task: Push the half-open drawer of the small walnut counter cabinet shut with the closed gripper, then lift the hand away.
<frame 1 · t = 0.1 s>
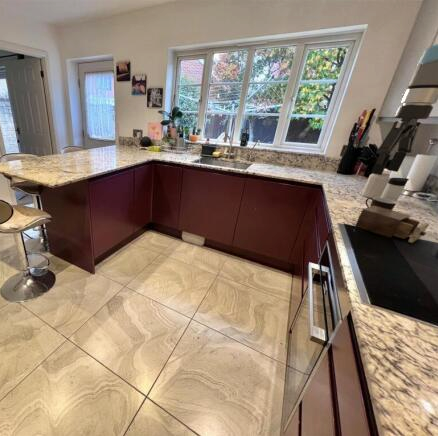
hand: (384, 172, 81), 29 cm above the worktop, tool pointing down, fingers open, 13 cm apart
drawer: (403, 227, 98), point 4 cm above the worktop, slide at 5.0 cm
cabinet: (377, 229, 106), on the worktop
travel mug: (381, 215, 122), on the worktop
coffee mug: (373, 218, 118), on the worktop
jar: (370, 196, 151), on the worktop
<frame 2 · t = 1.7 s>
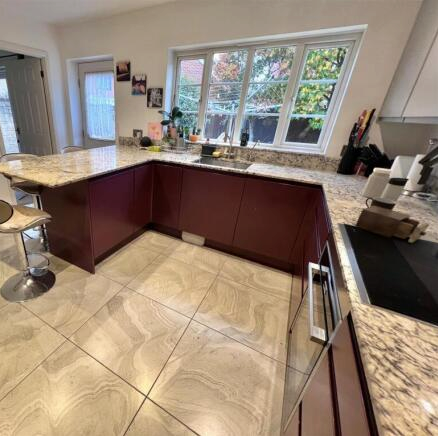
nothing on the worktop moved.
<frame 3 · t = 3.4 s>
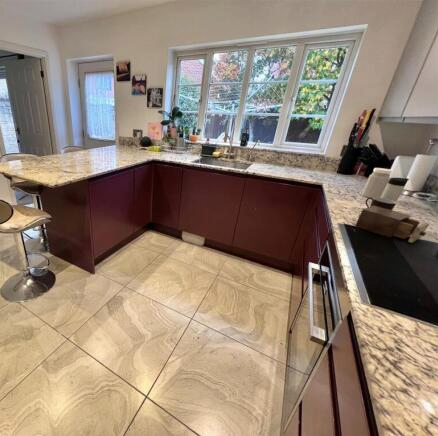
nothing on the worktop moved.
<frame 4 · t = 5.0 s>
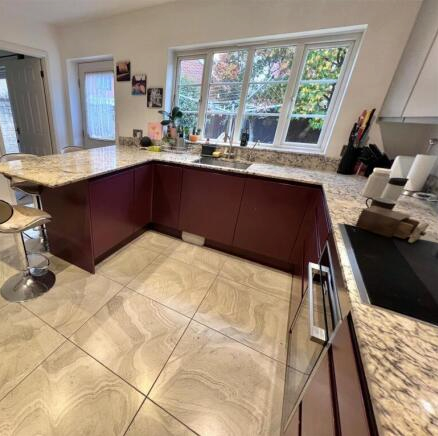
nothing on the worktop moved.
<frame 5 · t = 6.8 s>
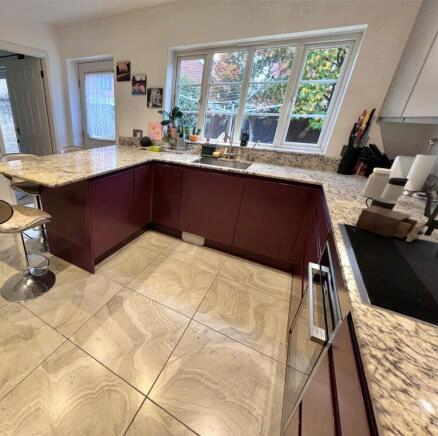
hand: (427, 234, 95), 4 cm above the worktop, tool pointing down, fingers closed
drawer: (401, 227, 99), point 4 cm above the worktop, slide at 4.3 cm, touching gripper
everything else where it was.
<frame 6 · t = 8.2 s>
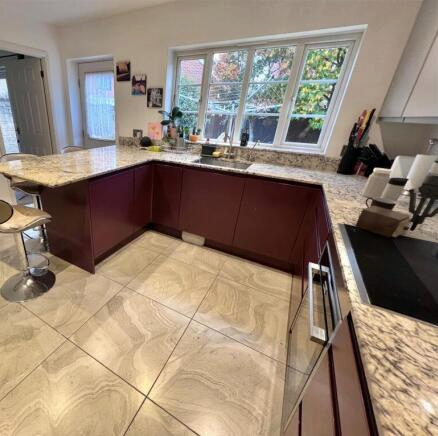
hand: (411, 230, 98), 4 cm above the worktop, tool pointing down, fingers closed
drawer: (388, 223, 102), point 4 cm above the worktop, slide at 0.0 cm, touching cabinet, gripper
everything else where it was.
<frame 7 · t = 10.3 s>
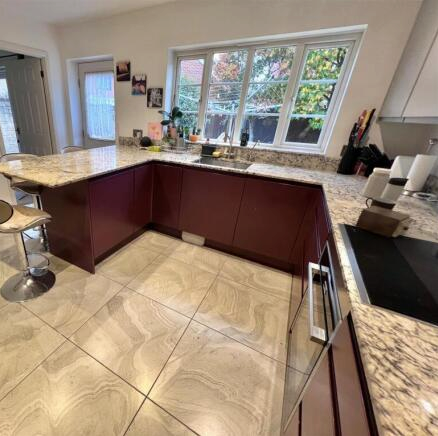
drawer: (388, 223, 102), point 4 cm above the worktop, slide at 0.0 cm
everything else where it was.
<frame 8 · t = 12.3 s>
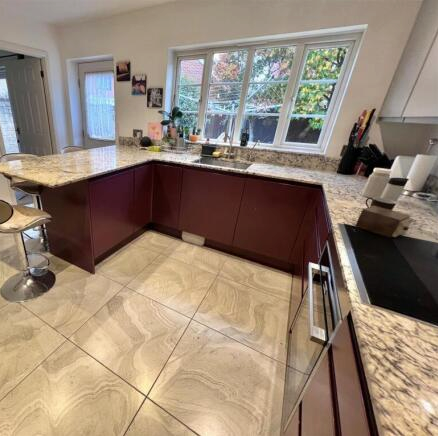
nothing on the worktop moved.
at the end: drawer slide at 0.0 cm; coffee mug moved 0.2 cm from its start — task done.
